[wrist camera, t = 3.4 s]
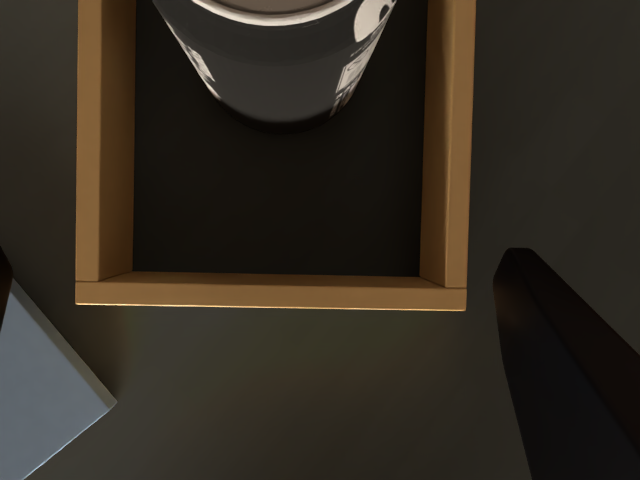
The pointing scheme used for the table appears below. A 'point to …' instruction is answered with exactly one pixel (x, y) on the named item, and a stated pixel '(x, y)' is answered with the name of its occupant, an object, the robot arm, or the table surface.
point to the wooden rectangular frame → (265, 289)
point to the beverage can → (278, 54)
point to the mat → (41, 389)
